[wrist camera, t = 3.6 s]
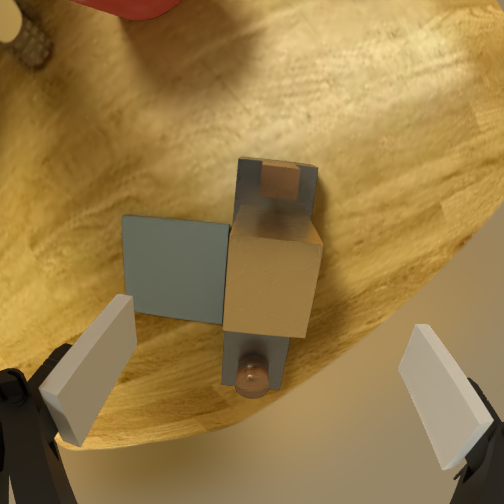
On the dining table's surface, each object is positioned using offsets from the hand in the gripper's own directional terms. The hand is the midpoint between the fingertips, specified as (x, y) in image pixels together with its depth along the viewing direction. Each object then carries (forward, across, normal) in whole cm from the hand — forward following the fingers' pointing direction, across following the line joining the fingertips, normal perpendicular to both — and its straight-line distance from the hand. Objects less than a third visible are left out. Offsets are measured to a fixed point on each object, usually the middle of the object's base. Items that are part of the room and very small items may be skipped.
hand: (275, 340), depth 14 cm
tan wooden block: (+12, 0, 0) cm, 12 cm away
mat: (+15, -9, -4) cm, 18 cm away
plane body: (+15, 0, -4) cm, 16 cm away
